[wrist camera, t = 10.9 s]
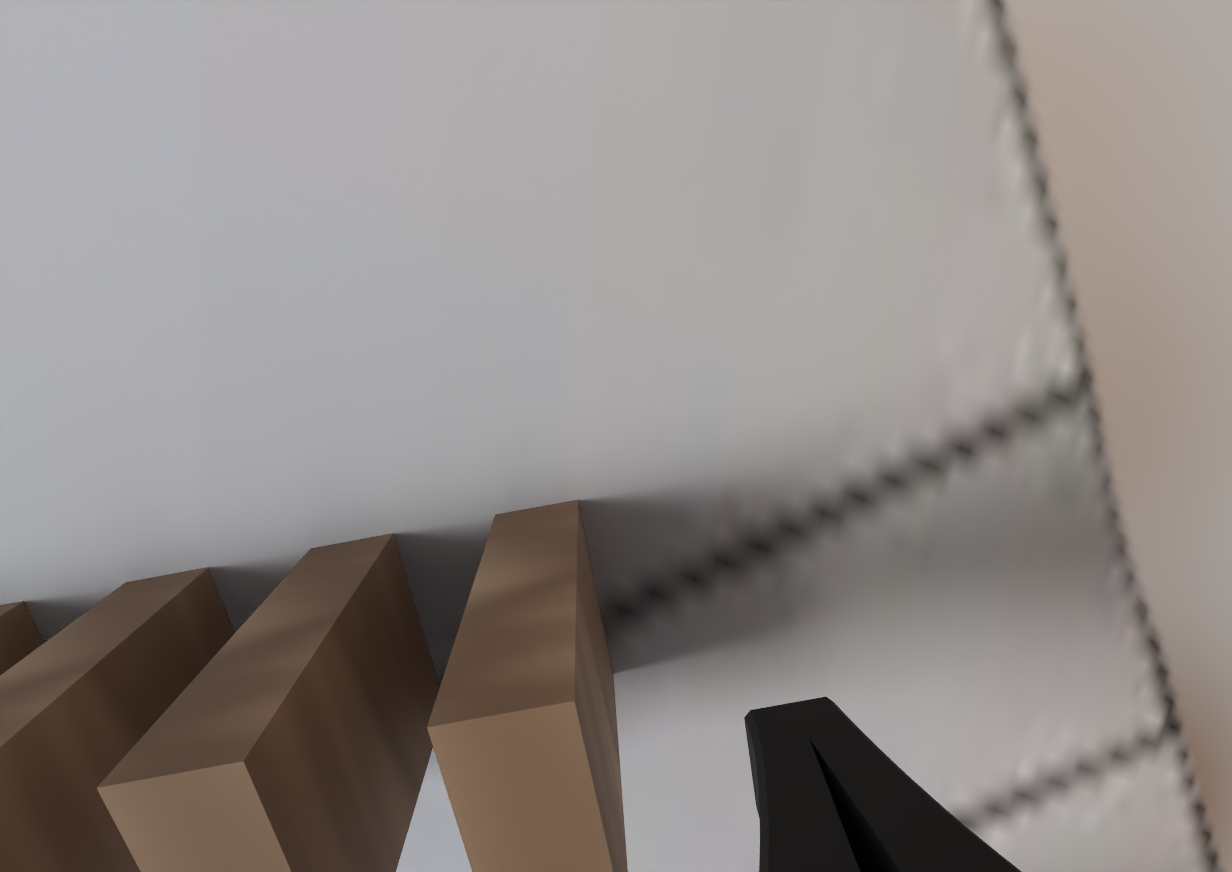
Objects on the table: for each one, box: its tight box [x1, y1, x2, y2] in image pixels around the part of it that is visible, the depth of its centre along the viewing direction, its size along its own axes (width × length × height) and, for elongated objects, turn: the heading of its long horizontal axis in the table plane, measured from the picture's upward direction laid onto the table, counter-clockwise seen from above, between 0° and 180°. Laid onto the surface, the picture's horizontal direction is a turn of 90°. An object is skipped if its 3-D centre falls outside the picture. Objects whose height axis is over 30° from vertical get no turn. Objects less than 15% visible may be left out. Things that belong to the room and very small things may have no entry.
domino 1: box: [0, 568, 235, 872], centre depth 13 cm, size 2×5×7 cm, turn 10°
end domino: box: [427, 500, 628, 872], centre depth 13 cm, size 2×5×7 cm, turn 10°
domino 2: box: [97, 534, 440, 872], centre depth 13 cm, size 2×5×7 cm, turn 10°
